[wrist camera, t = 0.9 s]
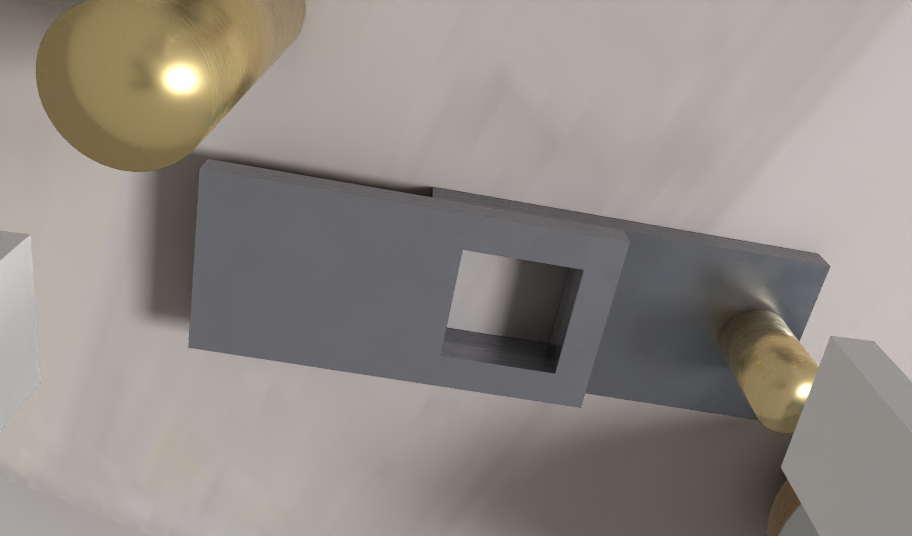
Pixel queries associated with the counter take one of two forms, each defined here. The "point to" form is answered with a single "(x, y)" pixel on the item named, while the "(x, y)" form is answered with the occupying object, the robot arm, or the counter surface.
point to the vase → (789, 515)
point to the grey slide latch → (487, 356)
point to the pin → (156, 72)
